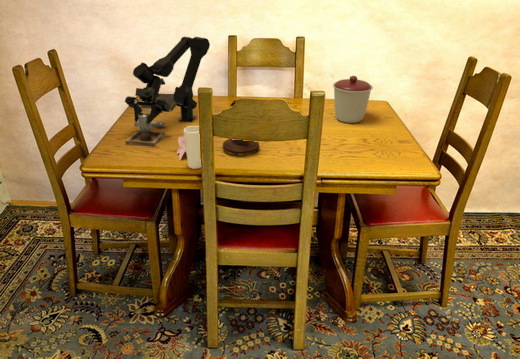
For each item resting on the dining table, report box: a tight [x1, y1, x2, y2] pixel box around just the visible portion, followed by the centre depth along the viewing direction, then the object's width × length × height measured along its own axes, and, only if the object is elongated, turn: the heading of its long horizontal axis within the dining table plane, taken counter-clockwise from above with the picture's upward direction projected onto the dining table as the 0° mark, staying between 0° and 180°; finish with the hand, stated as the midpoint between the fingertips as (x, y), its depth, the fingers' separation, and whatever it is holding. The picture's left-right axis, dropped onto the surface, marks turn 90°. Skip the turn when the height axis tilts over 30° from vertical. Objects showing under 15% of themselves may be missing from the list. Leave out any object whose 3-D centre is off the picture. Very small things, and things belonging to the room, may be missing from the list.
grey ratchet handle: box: [133, 120, 166, 130], centre depth 207 cm, size 14×4×2 cm, turn 81°
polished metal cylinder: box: [138, 112, 152, 141], centre depth 192 cm, size 5×5×11 cm
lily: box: [176, 136, 186, 161], centre depth 179 cm, size 12×12×10 cm
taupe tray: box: [124, 129, 166, 148], centre depth 194 cm, size 12×12×2 cm
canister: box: [332, 75, 373, 124], centre depth 213 cm, size 18×18×21 cm
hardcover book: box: [140, 92, 177, 112], centre depth 236 cm, size 16×23×2 cm
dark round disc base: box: [222, 99, 260, 157], centre depth 181 cm, size 15×15×20 cm
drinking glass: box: [183, 125, 202, 170], centre depth 168 cm, size 7×7×15 cm
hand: (142, 122), depth 189 cm, fingers open, 6 cm apart
